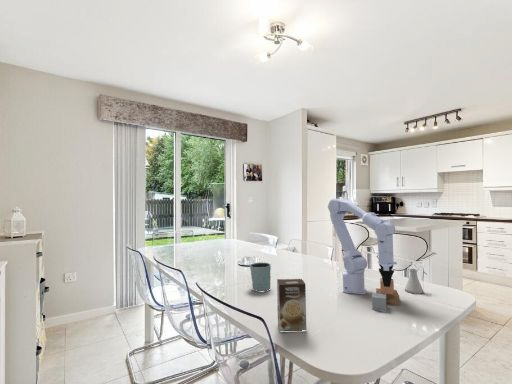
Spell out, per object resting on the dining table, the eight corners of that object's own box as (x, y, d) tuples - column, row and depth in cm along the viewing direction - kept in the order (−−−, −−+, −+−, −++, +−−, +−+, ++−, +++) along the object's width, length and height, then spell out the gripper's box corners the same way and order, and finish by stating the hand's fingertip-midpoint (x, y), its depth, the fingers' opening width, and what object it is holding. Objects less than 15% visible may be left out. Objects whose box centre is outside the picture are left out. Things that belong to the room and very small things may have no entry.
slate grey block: (372, 309, 109) (371, 297, 109) (372, 305, 114) (372, 292, 114) (386, 311, 107) (386, 298, 107) (386, 306, 112) (385, 294, 112)
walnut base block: (378, 304, 115) (377, 294, 115) (376, 297, 122) (376, 288, 122) (399, 306, 112) (399, 296, 112) (396, 299, 120) (396, 289, 120)
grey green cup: (269, 293, 131) (268, 267, 131) (248, 292, 133) (247, 267, 133) (272, 286, 141) (272, 262, 141) (253, 285, 143) (252, 262, 143)
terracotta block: (380, 293, 116) (380, 281, 116) (380, 289, 121) (380, 277, 121) (394, 294, 114) (393, 282, 114) (393, 290, 119) (393, 279, 119)
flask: (414, 295, 123) (413, 272, 123) (401, 289, 130) (400, 268, 130) (427, 293, 125) (426, 270, 125) (414, 288, 132) (413, 266, 132)
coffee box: (279, 333, 93) (278, 284, 93) (277, 324, 99) (276, 279, 99) (307, 332, 93) (305, 283, 93) (303, 323, 99) (301, 278, 100)
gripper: (397, 255, 109) (398, 290, 109) (395, 248, 122) (396, 279, 122) (377, 254, 112) (378, 288, 112) (378, 247, 125) (379, 278, 125)
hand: (386, 283), depth 117 cm, fingers open, 7 cm apart
